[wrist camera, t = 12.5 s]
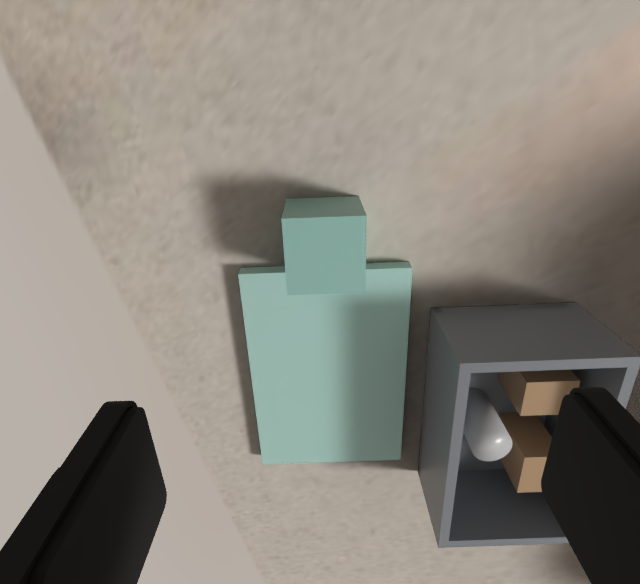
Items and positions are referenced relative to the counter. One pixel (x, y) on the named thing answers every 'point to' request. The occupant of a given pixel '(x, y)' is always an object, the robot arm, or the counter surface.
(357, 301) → the mint slab with cube
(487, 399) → the tub
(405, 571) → the counter surface
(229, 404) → the counter surface
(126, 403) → the robot arm
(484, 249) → the counter surface
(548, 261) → the counter surface
